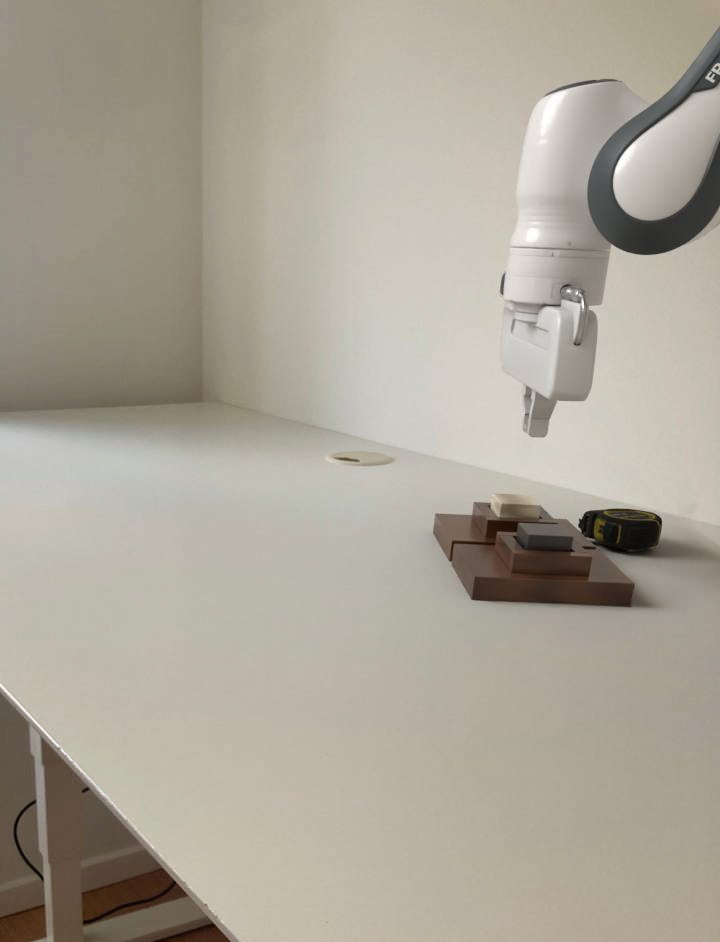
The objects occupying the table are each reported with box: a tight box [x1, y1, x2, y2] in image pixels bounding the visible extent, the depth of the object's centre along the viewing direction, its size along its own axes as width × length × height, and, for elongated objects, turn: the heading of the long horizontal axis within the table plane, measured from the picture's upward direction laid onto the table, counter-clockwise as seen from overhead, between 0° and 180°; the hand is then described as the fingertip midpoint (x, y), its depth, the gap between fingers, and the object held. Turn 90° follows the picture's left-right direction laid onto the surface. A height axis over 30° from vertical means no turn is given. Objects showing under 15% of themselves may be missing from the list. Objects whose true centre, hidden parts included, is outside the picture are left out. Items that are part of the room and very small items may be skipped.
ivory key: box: [490, 493, 542, 519], centre depth 103 cm, size 4×4×2 cm
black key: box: [516, 523, 573, 552], centre depth 93 cm, size 4×4×2 cm
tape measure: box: [577, 508, 663, 553], centre depth 106 cm, size 7×7×4 cm
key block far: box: [432, 501, 597, 563], centre depth 104 cm, size 14×10×4 cm
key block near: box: [451, 532, 636, 608], centre depth 94 cm, size 14×10×4 cm
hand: (533, 434), depth 99 cm, fingers closed
